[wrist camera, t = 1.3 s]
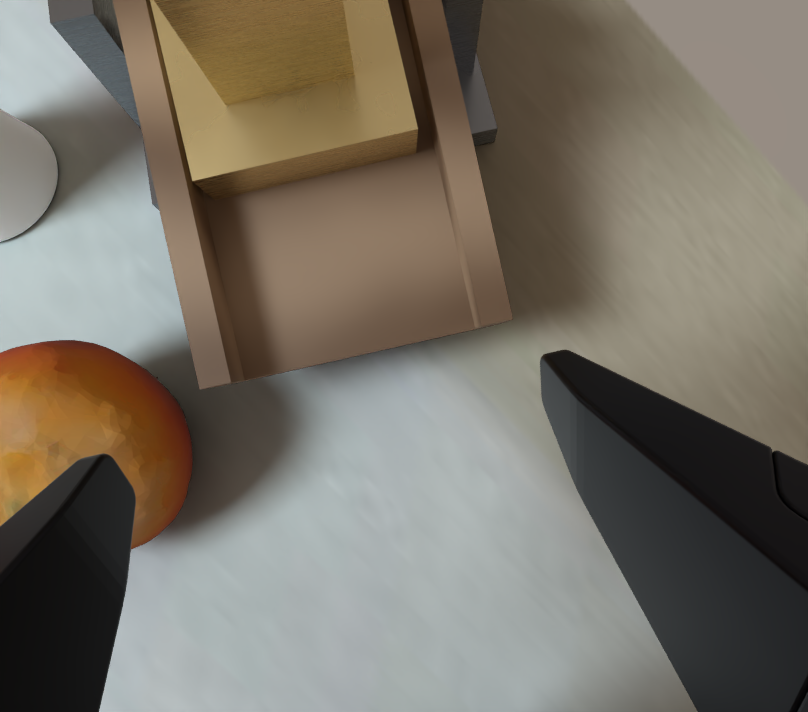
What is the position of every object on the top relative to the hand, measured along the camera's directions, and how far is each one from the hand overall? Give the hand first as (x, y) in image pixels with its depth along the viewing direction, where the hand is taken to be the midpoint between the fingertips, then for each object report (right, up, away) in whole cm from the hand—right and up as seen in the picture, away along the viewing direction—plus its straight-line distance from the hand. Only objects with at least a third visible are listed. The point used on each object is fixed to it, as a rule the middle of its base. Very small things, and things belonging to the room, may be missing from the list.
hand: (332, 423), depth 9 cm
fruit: (-11, -3, +14) cm, 18 cm away
